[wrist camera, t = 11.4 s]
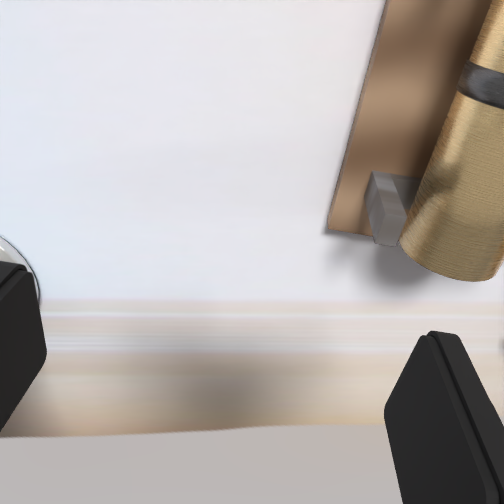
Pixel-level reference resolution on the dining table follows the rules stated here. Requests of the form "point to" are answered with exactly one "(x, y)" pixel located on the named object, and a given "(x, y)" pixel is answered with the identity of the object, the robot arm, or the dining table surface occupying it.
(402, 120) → the collar stand
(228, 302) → the dining table surface
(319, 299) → the dining table surface
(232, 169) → the dining table surface
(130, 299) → the dining table surface
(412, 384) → the robot arm
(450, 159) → the brass tube
